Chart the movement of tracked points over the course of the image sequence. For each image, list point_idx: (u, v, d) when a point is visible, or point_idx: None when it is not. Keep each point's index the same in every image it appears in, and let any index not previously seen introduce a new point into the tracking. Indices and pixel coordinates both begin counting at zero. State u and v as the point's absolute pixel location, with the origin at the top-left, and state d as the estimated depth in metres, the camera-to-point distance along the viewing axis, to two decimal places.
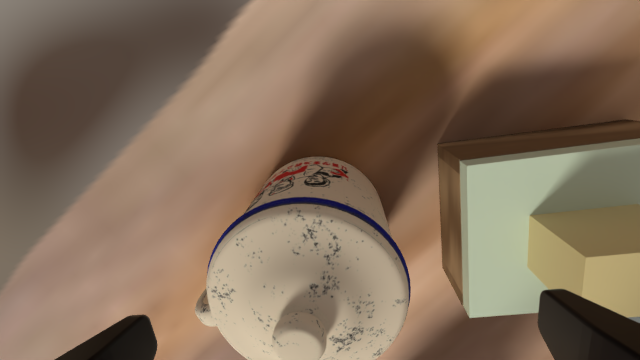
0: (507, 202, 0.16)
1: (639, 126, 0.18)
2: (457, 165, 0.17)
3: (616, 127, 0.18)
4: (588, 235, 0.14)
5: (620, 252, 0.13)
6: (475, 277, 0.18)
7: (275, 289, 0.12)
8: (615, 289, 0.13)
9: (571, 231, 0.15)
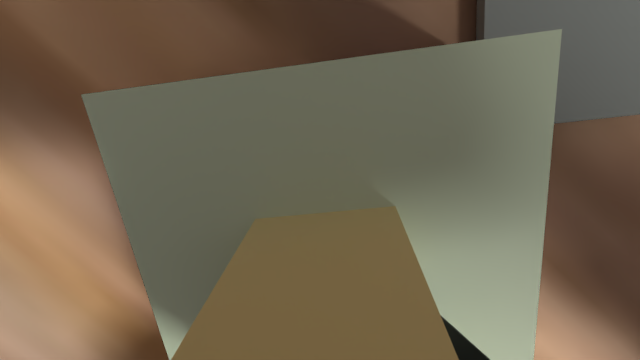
0: None
1: None
2: None
3: None
4: None
5: None
6: None
7: None
8: None
9: None
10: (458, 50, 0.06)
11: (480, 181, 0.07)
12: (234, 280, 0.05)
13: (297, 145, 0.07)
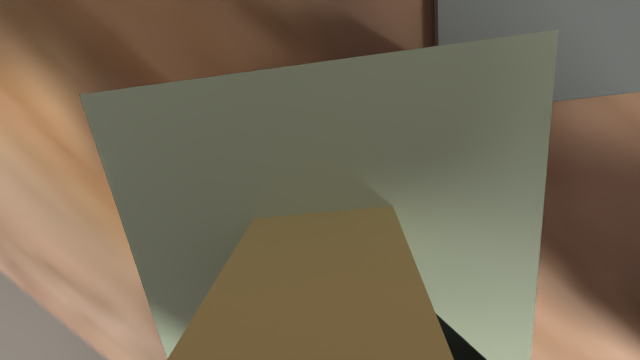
0: None
1: None
2: None
3: None
4: None
5: None
6: None
7: None
8: None
9: None
10: (455, 50, 0.06)
11: (477, 180, 0.07)
12: (231, 279, 0.05)
13: (295, 145, 0.07)
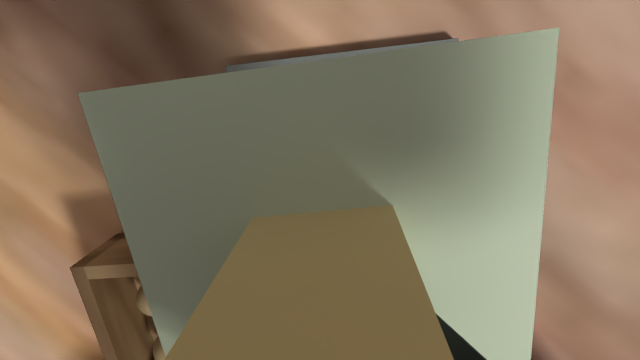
0: None
1: None
2: None
3: None
4: None
5: None
6: None
7: None
8: None
9: None
10: (455, 49, 0.06)
11: (477, 180, 0.07)
12: (230, 278, 0.05)
13: (294, 144, 0.07)
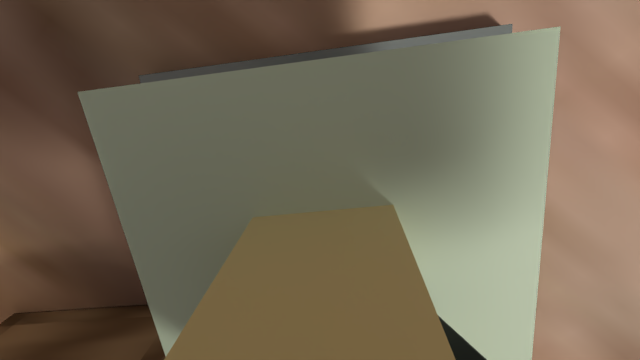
0: None
1: None
2: None
3: None
4: None
5: None
6: None
7: None
8: None
9: None
10: (456, 48, 0.06)
11: (478, 179, 0.07)
12: (230, 278, 0.05)
13: (294, 143, 0.07)
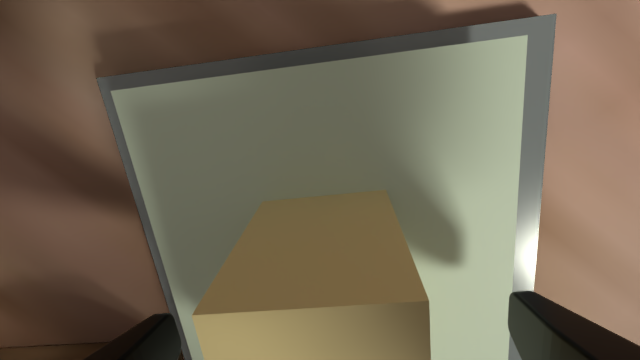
0: None
1: None
2: None
3: None
4: None
5: None
6: None
7: None
8: None
9: None
10: (439, 53, 0.07)
11: (459, 167, 0.07)
12: (247, 246, 0.06)
13: (300, 135, 0.07)
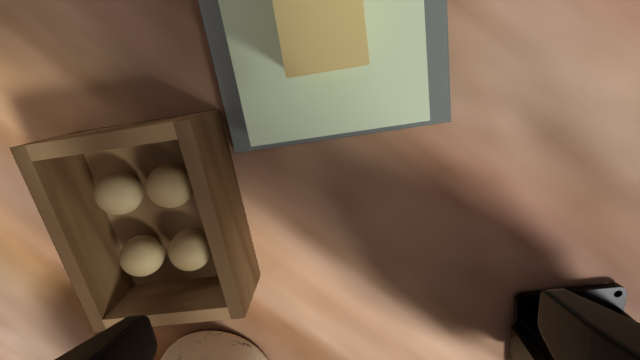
0: (285, 102, 0.16)
1: None
2: None
3: None
4: None
5: (279, 39, 0.11)
6: (375, 121, 0.16)
7: None
8: (324, 33, 0.11)
9: None
10: None
11: None
12: None
13: None
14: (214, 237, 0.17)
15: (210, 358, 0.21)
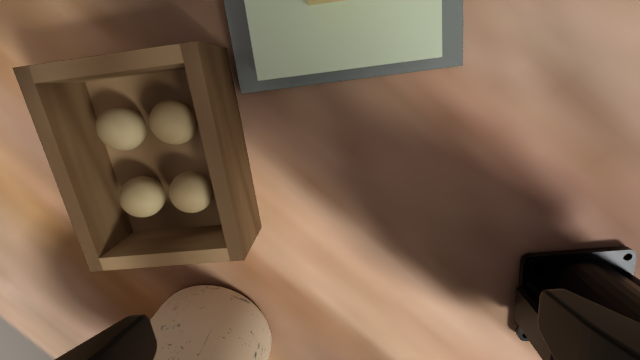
0: (294, 33, 0.16)
1: None
2: None
3: None
4: None
5: None
6: (385, 56, 0.16)
7: None
8: None
9: None
10: None
11: None
12: None
13: None
14: (216, 171, 0.16)
15: (207, 308, 0.21)
